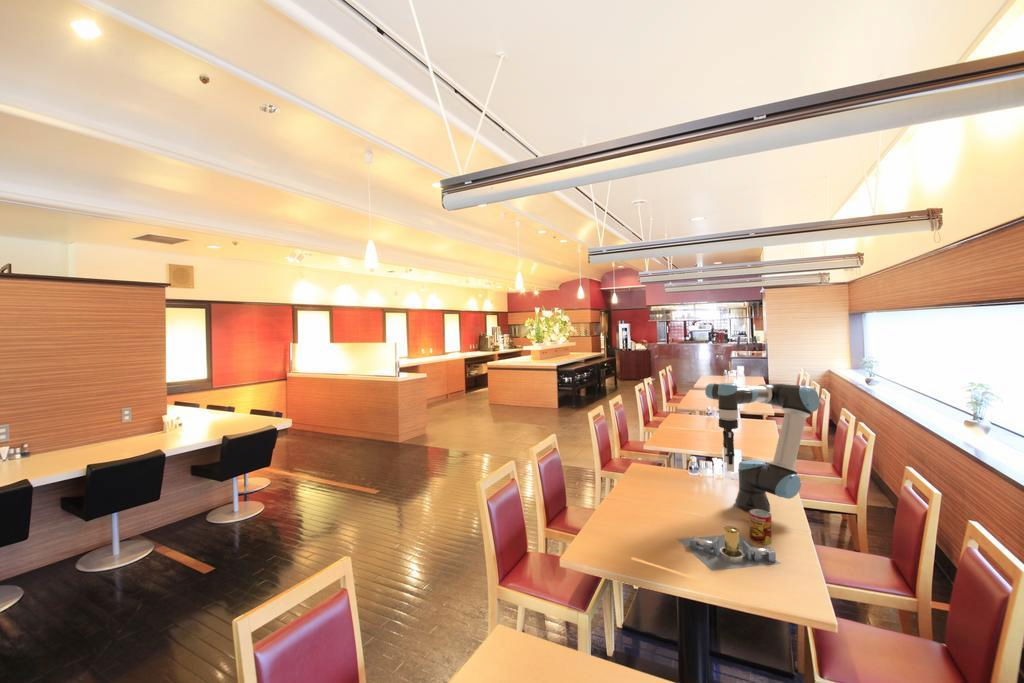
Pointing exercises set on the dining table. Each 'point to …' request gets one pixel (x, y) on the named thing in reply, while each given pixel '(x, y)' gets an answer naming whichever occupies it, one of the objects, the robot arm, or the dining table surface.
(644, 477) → the dining table surface
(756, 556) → the shaft
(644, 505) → the dining table surface
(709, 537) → the base board
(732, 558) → the socket
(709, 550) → the shaft
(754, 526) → the canned food
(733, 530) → the cylinder
